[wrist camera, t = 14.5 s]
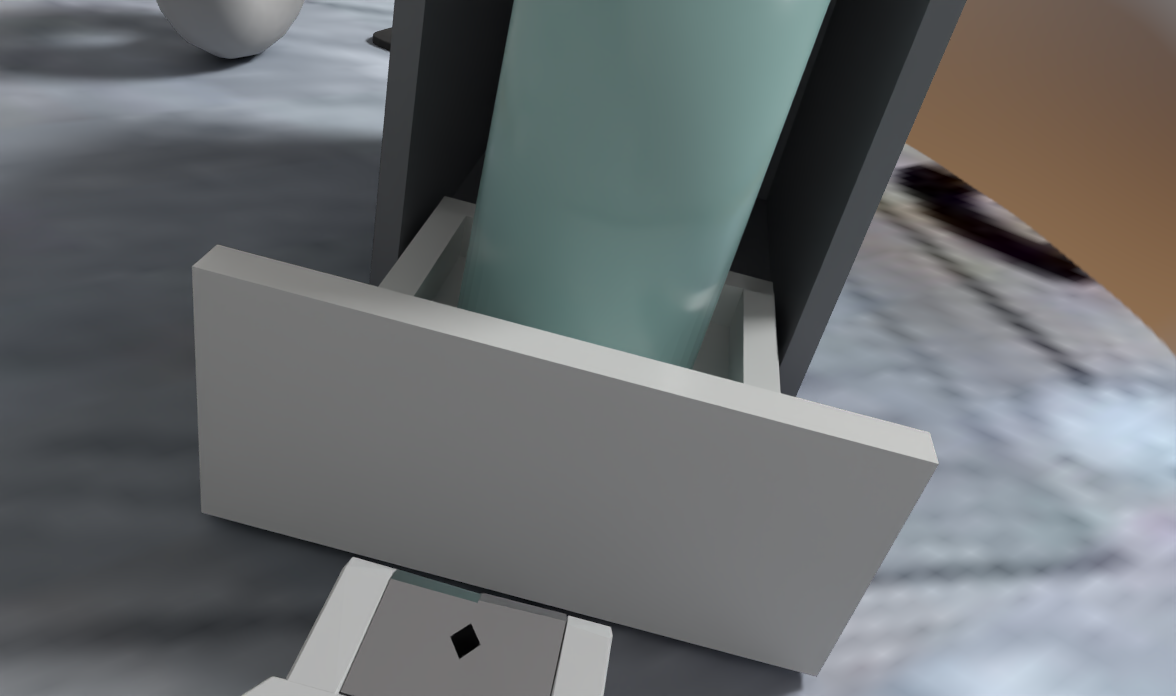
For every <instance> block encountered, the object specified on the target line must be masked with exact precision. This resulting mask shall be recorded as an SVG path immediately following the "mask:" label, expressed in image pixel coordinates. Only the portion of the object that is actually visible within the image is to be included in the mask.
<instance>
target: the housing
mask: <svg viewBox="0 0 1176 696" xmlns="http://www.w3.org/2000/svg"><path fill="white" fill-rule="evenodd" d="M966 1H967V0H830V3H829V6H828V8H827V11H826V14H825V16H824V19H823V22H822V24H821V27H820V30H819V32H818V35H817V38H816V40H815V43H814V46H813V48H812V51H811V54H810V56H809V59H808V62H807V64H806V67H805V70H804V72H803V75H802V78H801V80H800V83H799V86H798V88H797V91H796V94H795V96H794V99H793V102H792V104H791V107H790V110H789V112H788V115H787V118H786V120H785V123H784V126H783V128H782V131H781V134H780V136H779V139H778V142H777V144H776V147H775V150H774V152H773V155H772V158H771V160H770V163H769V166H768V168H767V171H766V174H765V176H764V179H763V182H762V184H761V187H760V190H759V192H758V195H757V198H756V200H755V203H754V206H753V208H752V211H751V214H750V216H749V219H748V222H747V224H746V227H745V230H744V232H743V235H742V238H741V240H740V243H739V246H738V248H737V251H736V254H735V256H734V259H733V262H732V264H731V267H730V270H729V271H732V272H735V273H739V274H743V275H747V276H751V277H754V278H758V279H762V280H766V281H770V282H773V293H774V295H775V311H776V327H777V344H778V360H779V376H780V392H781V393H782V394H786V395H789V396H793V397H796V395H797V393H798V390H799V388H800V386H801V383H802V381H803V379H804V376H805V374H806V372H807V369H808V367H809V365H810V362H811V360H812V358H813V355H814V353H815V351H816V349H817V346H818V344H819V342H820V339H821V337H822V335H823V332H824V330H825V328H826V325H827V323H828V321H829V318H830V316H831V314H832V311H833V309H834V307H835V304H836V302H837V300H838V297H839V295H840V293H841V291H842V288H843V286H844V284H845V281H846V279H847V277H848V274H849V272H850V270H851V267H852V265H853V263H854V260H855V258H856V256H857V253H858V251H859V249H860V246H861V244H862V242H863V240H864V237H865V235H866V233H867V230H868V228H869V226H870V223H871V221H872V219H873V216H874V214H875V212H876V209H877V207H878V205H879V202H880V200H881V198H882V195H883V193H884V191H885V188H886V186H887V184H888V182H889V179H890V177H891V175H892V172H893V170H894V168H895V165H896V163H897V161H898V158H899V156H900V154H901V151H902V149H903V147H904V144H905V142H906V139H907V137H908V135H909V133H910V131H911V128H912V126H913V124H914V121H915V119H916V116H917V114H918V112H919V109H920V107H921V105H922V103H923V100H924V98H925V96H926V93H927V91H928V89H929V86H930V84H931V82H932V79H933V77H934V75H935V72H936V70H937V68H938V65H939V63H940V61H941V59H942V56H943V54H944V52H945V49H946V47H947V45H948V42H949V40H950V37H951V35H952V33H953V31H954V28H955V26H956V24H957V22H958V19H959V17H960V15H961V12H962V10H963V7H964V5H965V3H966ZM513 2H514V0H395V3H394V15H393V26H392V37H391V48H390V60H389V71H388V82H387V93H386V104H385V116H384V127H383V138H382V149H381V160H380V172H379V183H378V194H377V205H376V217H375V228H374V239H373V250H372V261H371V273H370V284H369V285H373V286H377V287H378V286H379V285H380V284H381V282H382V281H383V279H384V278H385V277H386V275H387V274H388V273H389V271H390V270H391V269H392V267H393V266H394V264H395V263H396V262H397V260H398V259H399V258H400V256H401V255H402V254H403V252H404V251H405V249H406V248H407V247H408V245H409V244H410V243H411V241H412V240H413V239H414V237H415V236H416V234H417V233H418V232H419V230H420V229H421V228H422V226H423V225H424V224H425V222H426V221H427V219H428V218H429V217H430V215H431V214H432V213H433V211H434V210H435V209H436V207H437V206H438V205H439V203H440V202H441V200H442V199H443V198H444V196H447V197H450V198H454V199H458V200H462V201H466V202H469V203H473V204H476V202H477V197H478V192H479V186H480V181H481V175H482V170H483V165H484V159H485V154H486V148H487V143H488V138H489V132H490V127H491V121H492V116H493V111H494V105H495V100H496V94H497V89H498V84H499V78H500V73H501V67H502V62H503V57H504V51H505V46H506V40H507V35H508V30H509V24H510V19H511V13H512V8H513Z"/></svg>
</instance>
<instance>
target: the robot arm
mask: <svg viewBox="0 0 1176 696" xmlns="http://www.w3.org/2000/svg"><path fill="white" fill-rule="evenodd" d="M566 615H567V614H564V613H560V612H556V611H552V610H548V609H545V608H541V607H537V606H533V605H529V604H525V603H521V602H517V601H513V600H509V599H505V598H501V597H497V596H493V595H490V594H486V593H482V594H479V593H476V592H473V591H469V590H466V589H462V588H459V587H456V586H452V585H449V584H446V583H442V582H439V581H436V580H432V579H429V578H426V577H422V576H419V575H415V574H412V573H409V572H405V571H402V570H399V569H394V568H391V567H387V566H384V565H380V564H377V563H373V562H370V561H366V560H363V559H359V558H355V557H352V558H351V559H350V561H349V562H348V563H347V564H346V565H345V566H344V567H343V569H342V571H341V573H340V575H339V577H338V579H337V581H336V582H335V584H334V586H333V588H332V590H331V592H330V594H329V596H328V598H327V600H326V602H325V604H324V606H323V608H322V610H321V612H320V613H319V615H318V617H317V619H316V621H315V623H314V625H313V627H312V629H311V631H310V633H309V635H308V637H307V639H306V641H305V642H304V644H303V646H302V648H301V650H300V652H299V654H298V656H297V658H296V660H295V662H294V664H293V666H292V668H291V670H290V672H289V673H288V675H287V677H286V679H283V678H278V677H274V676H271V677H270V678H268V679H266V680H265V681H263V682H262V683H260V684H259V685H257V686H255V687H254V688H252V689H251V690H249V691H247V692H246V693H244V694H243V695H241V696H603V695H604V689H605V682H606V676H607V669H608V663H609V656H610V649H611V643H612V636H613V635H612V630H611V627H609V626H605V625H602V624H598V623H594V622H591V621H587V620H583V619H579V618H576V617H572V616H568V617H567V618H566Z"/></svg>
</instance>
